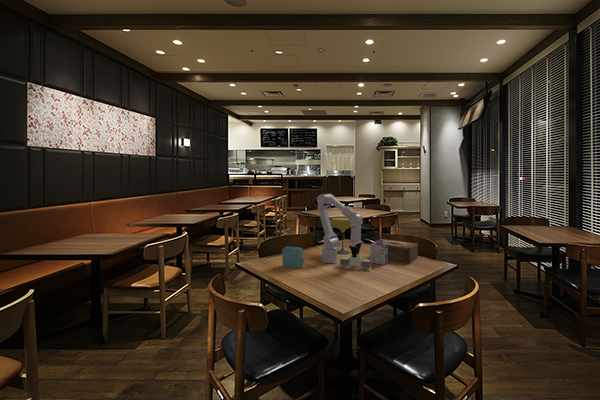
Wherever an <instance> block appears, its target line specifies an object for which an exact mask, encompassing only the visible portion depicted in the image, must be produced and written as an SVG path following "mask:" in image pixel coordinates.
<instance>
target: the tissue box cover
mask: <svg viewBox="0 0 600 400" xmlns="http://www.w3.org/2000/svg"><path fill="white" fill-rule="evenodd" d="M379 240H383V243H382V244H388V261H389V260H390V261H395V262H401V263H406V264H411V263H412V262H414V261H416V260H417V259H418V256H419V255H418V253H419V251H418V250H419V244H418V243H415V242H414V243H413V242H406V241H399V240H390V239H384V238H381V239H379ZM378 242H381V241H378ZM372 243H377V240H375V241H372Z"/></svg>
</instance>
